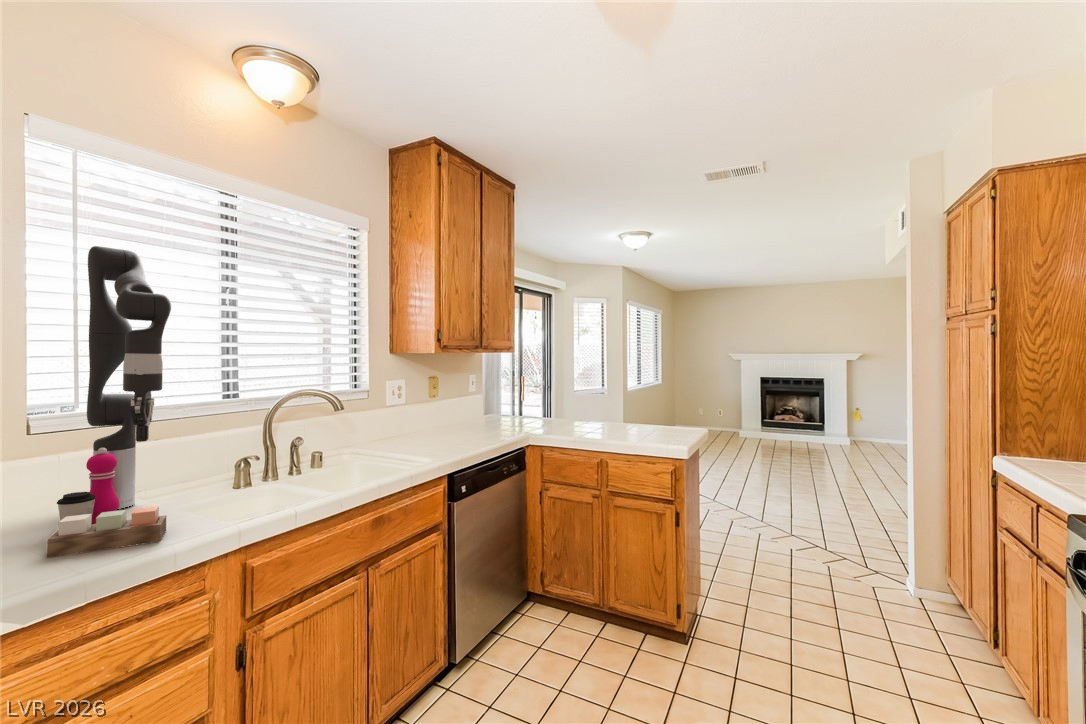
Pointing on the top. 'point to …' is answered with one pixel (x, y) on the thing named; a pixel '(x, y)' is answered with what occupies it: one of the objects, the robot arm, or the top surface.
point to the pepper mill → (102, 483)
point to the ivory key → (75, 524)
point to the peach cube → (145, 515)
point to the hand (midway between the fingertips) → (142, 441)
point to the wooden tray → (105, 538)
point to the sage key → (111, 520)
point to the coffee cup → (76, 504)
